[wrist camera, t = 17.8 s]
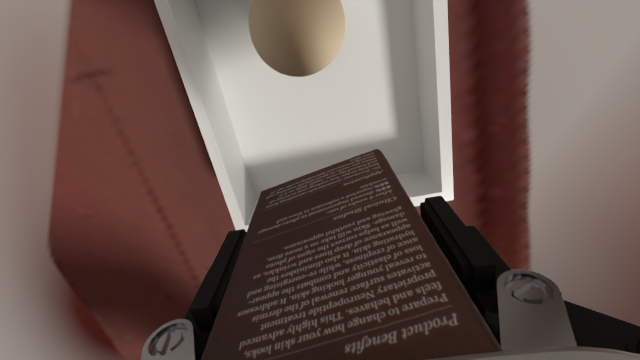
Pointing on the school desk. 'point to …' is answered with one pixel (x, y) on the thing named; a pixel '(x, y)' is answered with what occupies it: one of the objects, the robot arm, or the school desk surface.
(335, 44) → the beige piece
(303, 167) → the tote
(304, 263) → the box
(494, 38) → the school desk surface
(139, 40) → the school desk surface
